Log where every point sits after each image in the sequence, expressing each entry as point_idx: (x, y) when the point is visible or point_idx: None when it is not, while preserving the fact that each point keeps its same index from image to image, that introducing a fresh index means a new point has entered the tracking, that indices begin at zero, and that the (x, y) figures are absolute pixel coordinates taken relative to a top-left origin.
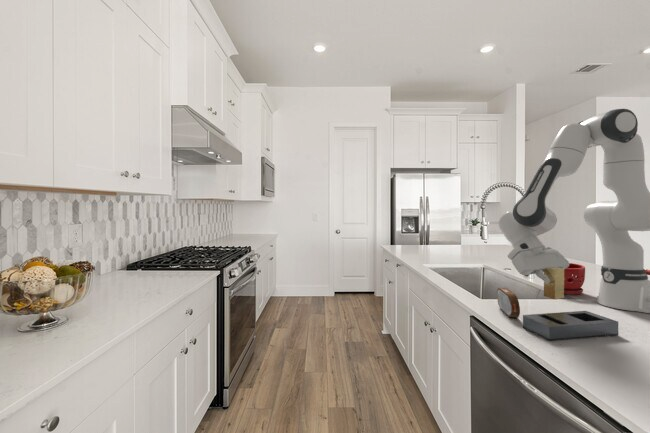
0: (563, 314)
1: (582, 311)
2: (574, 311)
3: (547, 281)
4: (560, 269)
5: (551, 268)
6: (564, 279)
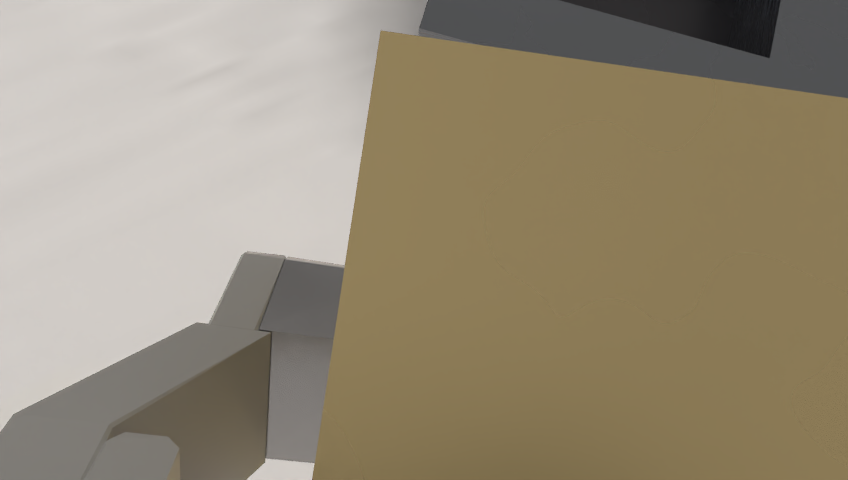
0: (810, 66)
1: (486, 30)
2: None
3: None
4: (584, 74)
5: (751, 382)
6: (254, 252)
